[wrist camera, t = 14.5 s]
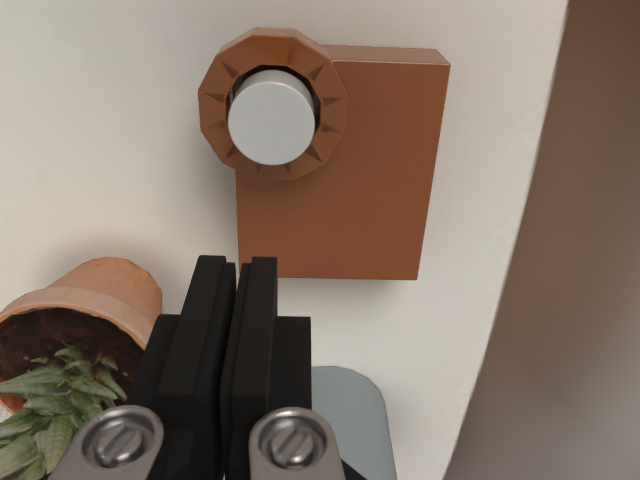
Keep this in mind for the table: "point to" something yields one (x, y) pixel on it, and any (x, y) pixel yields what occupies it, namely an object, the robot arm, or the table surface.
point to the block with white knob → (335, 155)
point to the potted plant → (70, 358)
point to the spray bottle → (355, 420)
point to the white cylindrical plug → (272, 118)
